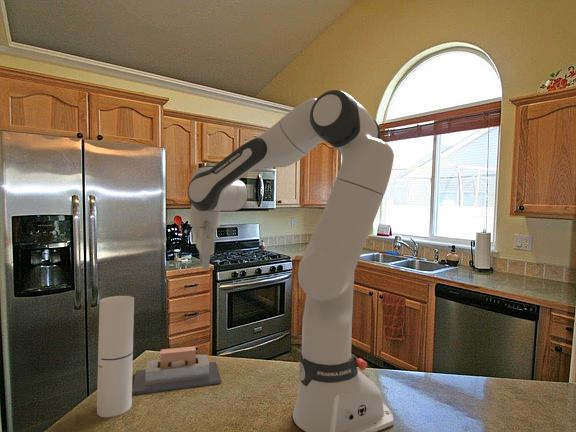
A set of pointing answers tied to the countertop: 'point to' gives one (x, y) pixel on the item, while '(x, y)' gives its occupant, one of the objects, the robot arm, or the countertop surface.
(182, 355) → the clip
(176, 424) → the countertop surface
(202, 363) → the grey slotted holder
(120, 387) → the cylindrical container
